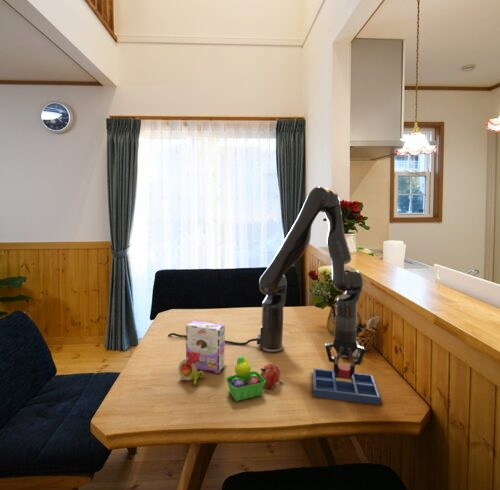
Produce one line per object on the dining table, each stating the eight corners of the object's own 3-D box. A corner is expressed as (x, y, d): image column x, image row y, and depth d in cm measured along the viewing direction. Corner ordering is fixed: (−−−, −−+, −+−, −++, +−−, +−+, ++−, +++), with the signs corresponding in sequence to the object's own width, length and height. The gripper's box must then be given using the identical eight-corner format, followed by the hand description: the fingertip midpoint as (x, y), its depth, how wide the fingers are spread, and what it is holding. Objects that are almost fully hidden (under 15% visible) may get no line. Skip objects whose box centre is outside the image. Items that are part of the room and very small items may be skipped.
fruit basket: (233, 404, 108) (234, 369, 108) (224, 389, 116) (224, 357, 116) (265, 396, 113) (266, 363, 112) (254, 383, 121) (255, 351, 120)
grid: (313, 396, 114) (313, 389, 114) (313, 374, 128) (313, 368, 128) (380, 404, 110) (380, 397, 110) (372, 381, 124) (372, 374, 124)
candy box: (224, 366, 132) (225, 324, 131) (218, 374, 126) (219, 330, 126) (192, 360, 137) (193, 319, 136) (185, 367, 131) (185, 324, 130)
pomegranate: (273, 383, 125) (252, 369, 123) (286, 368, 124) (265, 353, 123) (277, 398, 118) (254, 382, 116) (291, 382, 117) (268, 366, 115)
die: (355, 364, 138) (366, 342, 140) (335, 351, 139) (347, 329, 142) (349, 362, 146) (360, 341, 148) (330, 350, 147) (341, 329, 150)
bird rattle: (179, 390, 119) (202, 385, 116) (168, 359, 119) (190, 353, 117) (188, 381, 125) (209, 375, 122) (177, 352, 125) (198, 345, 123)
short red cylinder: (337, 377, 120) (338, 369, 120) (336, 371, 125) (337, 363, 124) (350, 379, 120) (351, 371, 119) (349, 372, 124) (349, 365, 124)
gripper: (365, 324, 124) (363, 371, 125) (324, 321, 126) (322, 366, 127) (368, 332, 116) (366, 382, 117) (325, 328, 119) (323, 377, 120)
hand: (343, 373), depth 122 cm, fingers closed on short red cylinder, 4 cm apart
